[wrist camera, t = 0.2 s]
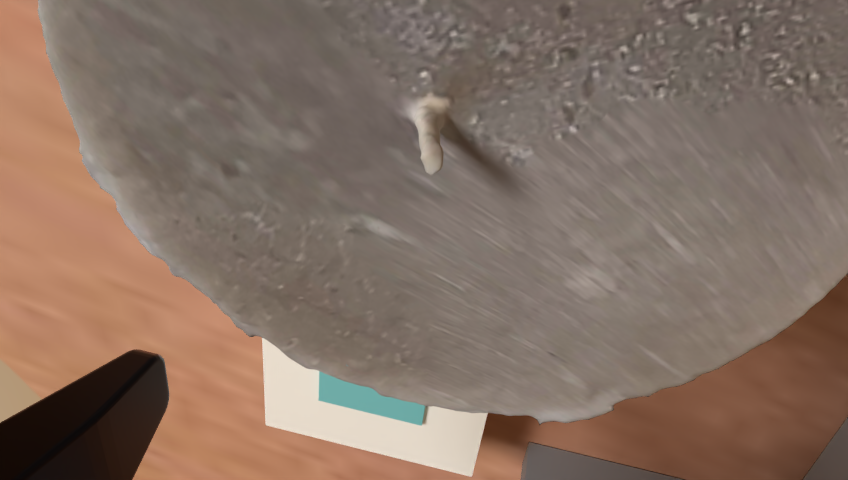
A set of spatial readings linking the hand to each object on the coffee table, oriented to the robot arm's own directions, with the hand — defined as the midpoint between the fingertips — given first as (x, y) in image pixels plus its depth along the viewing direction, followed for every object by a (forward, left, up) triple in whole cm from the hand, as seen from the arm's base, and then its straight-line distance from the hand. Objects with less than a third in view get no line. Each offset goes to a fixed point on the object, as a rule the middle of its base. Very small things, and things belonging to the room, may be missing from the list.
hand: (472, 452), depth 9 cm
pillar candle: (+4, +1, -15) cm, 15 cm away
